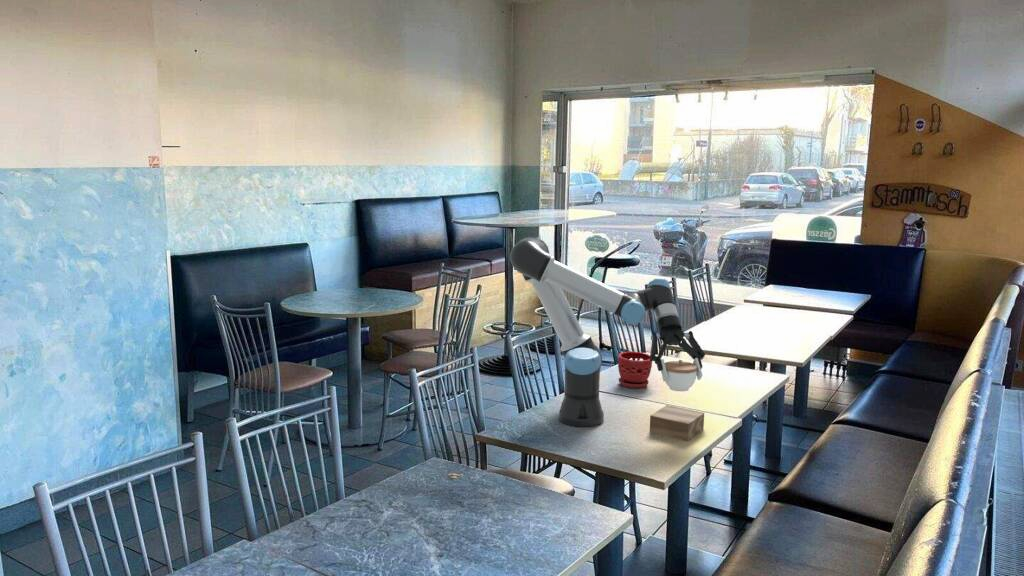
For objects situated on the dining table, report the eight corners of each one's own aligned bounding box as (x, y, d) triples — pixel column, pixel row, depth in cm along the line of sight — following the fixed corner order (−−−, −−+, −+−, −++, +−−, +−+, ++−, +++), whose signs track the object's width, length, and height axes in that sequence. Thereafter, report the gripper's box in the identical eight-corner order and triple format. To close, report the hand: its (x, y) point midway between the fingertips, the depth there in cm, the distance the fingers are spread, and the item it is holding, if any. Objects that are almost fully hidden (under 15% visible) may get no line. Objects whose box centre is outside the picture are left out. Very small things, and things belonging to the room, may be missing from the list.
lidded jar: (660, 391, 231) (661, 363, 229) (663, 382, 241) (664, 354, 239) (695, 395, 228) (696, 366, 226) (696, 385, 238) (698, 357, 236)
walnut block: (687, 442, 228) (688, 423, 227) (649, 433, 235) (650, 415, 234) (703, 430, 238) (704, 412, 237) (666, 421, 246) (667, 404, 245)
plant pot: (615, 388, 281) (616, 358, 279) (619, 379, 294) (620, 350, 292) (650, 391, 278) (651, 360, 276) (652, 381, 291) (653, 352, 289)
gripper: (697, 325, 248) (713, 382, 236) (631, 327, 245) (644, 385, 232) (704, 313, 242) (721, 371, 230) (636, 314, 239) (650, 374, 226)
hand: (683, 378), depth 231 cm, fingers closed on lidded jar, 11 cm apart
